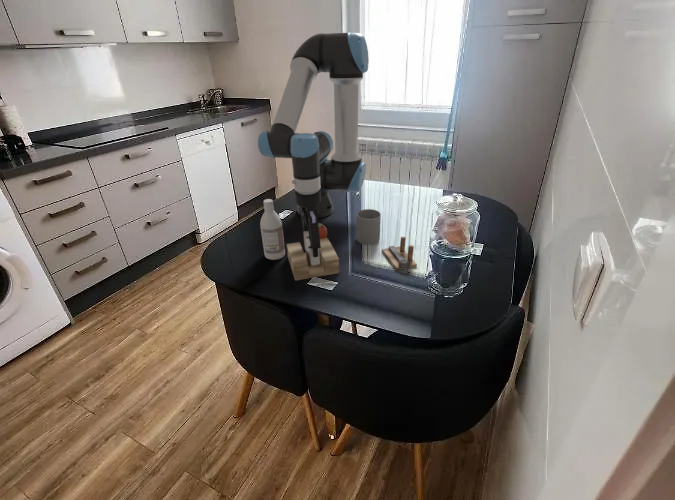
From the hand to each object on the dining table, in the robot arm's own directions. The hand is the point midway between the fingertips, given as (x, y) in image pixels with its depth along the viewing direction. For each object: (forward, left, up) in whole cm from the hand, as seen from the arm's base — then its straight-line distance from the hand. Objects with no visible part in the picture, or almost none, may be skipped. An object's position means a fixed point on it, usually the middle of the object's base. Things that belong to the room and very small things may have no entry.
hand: (312, 256), depth 116 cm
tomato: (-15, +5, -4) cm, 16 cm away
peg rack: (+5, +28, -3) cm, 29 cm away
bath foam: (-10, -11, -4) cm, 15 cm away
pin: (0, 0, -3) cm, 3 cm away
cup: (-11, +23, -4) cm, 26 cm away
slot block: (0, 0, -3) cm, 3 cm away
